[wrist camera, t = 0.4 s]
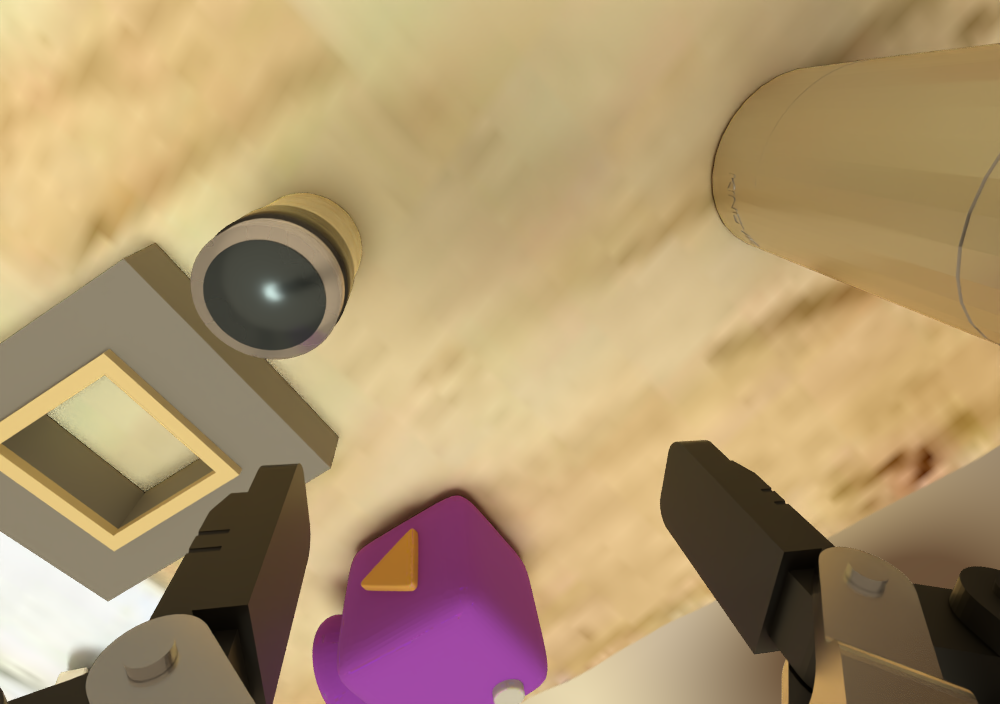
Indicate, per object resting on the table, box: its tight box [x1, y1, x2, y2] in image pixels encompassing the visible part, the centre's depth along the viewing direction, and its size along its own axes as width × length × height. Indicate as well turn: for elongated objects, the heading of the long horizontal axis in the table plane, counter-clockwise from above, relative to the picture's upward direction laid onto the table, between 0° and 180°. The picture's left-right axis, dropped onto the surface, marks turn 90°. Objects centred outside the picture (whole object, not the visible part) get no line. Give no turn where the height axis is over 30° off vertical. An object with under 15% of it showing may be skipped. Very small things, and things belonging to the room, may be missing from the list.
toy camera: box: [313, 495, 547, 704], centre depth 32 cm, size 11×14×10 cm
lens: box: [190, 193, 362, 359], centre depth 22 cm, size 5×5×8 cm
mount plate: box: [0, 243, 339, 601], centre depth 27 cm, size 16×14×4 cm
